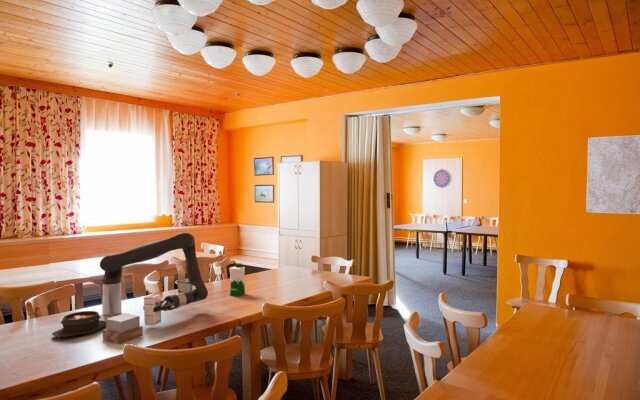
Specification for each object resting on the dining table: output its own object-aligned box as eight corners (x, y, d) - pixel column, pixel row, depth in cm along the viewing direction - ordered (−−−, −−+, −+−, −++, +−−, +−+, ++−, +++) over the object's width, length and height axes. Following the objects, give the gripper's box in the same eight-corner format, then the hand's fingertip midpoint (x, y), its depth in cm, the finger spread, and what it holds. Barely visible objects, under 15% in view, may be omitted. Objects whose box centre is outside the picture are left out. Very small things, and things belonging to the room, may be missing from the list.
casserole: (66, 343, 190) (66, 325, 190) (43, 336, 199) (43, 319, 199) (116, 327, 212) (116, 310, 211) (94, 322, 221) (93, 306, 220)
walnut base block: (103, 340, 194) (102, 329, 194) (126, 332, 204) (126, 322, 204) (119, 345, 188) (119, 334, 188) (142, 336, 198) (142, 326, 198)
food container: (197, 294, 278) (197, 279, 277) (191, 296, 272) (191, 281, 272) (183, 293, 283) (183, 278, 282) (176, 295, 277) (176, 280, 277)
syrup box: (154, 326, 207) (154, 296, 207) (144, 325, 208) (143, 296, 208) (161, 322, 213) (160, 294, 212) (150, 321, 214) (150, 293, 213)
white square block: (106, 329, 194) (106, 319, 194) (125, 323, 203) (125, 313, 203) (121, 332, 189) (120, 321, 189) (139, 326, 198) (139, 315, 198)
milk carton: (246, 293, 279) (246, 263, 279) (239, 296, 271) (238, 265, 270) (235, 292, 283) (235, 262, 282) (227, 295, 274) (227, 265, 274)
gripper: (166, 292, 226) (139, 299, 212) (184, 295, 219) (158, 303, 204) (166, 306, 226) (139, 314, 212) (185, 310, 219) (158, 318, 205)
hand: (148, 309), depth 208 cm, fingers closed on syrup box, 7 cm apart
